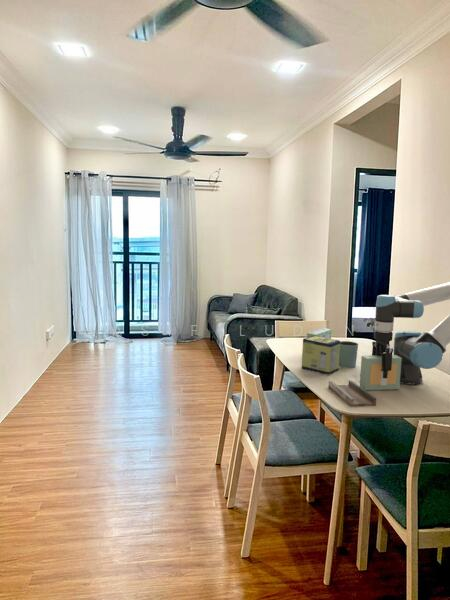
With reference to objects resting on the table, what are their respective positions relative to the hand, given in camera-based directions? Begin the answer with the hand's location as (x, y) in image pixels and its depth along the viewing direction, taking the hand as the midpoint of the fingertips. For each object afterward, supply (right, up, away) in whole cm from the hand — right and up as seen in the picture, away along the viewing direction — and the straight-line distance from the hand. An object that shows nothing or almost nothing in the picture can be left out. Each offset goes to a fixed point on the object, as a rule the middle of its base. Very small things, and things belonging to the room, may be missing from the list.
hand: (379, 382), depth 189 cm
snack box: (-16, +4, +50) cm, 53 cm away
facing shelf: (-16, -4, -10) cm, 19 cm away
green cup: (-5, +2, +35) cm, 35 cm away
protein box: (-21, +1, +26) cm, 33 cm away
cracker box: (0, -2, 0) cm, 2 cm away
